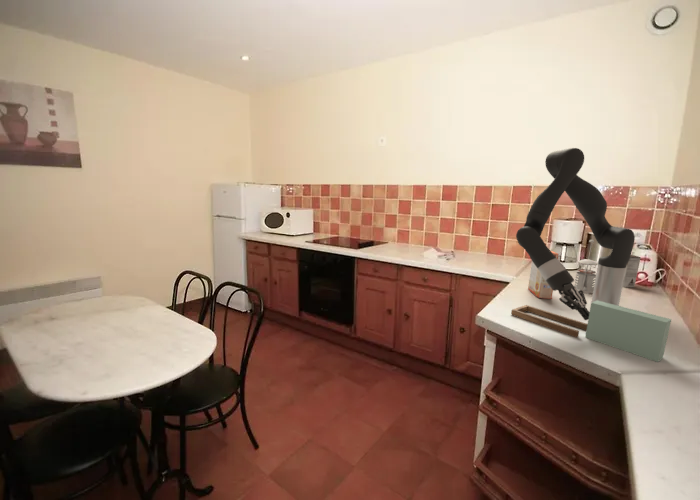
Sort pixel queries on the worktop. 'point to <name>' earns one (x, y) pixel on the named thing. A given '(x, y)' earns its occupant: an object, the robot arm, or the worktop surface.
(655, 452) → the worktop surface
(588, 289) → the french press
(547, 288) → the cracker box
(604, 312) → the pale green rectangular block
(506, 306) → the worktop surface
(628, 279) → the coffee box
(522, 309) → the open frame
